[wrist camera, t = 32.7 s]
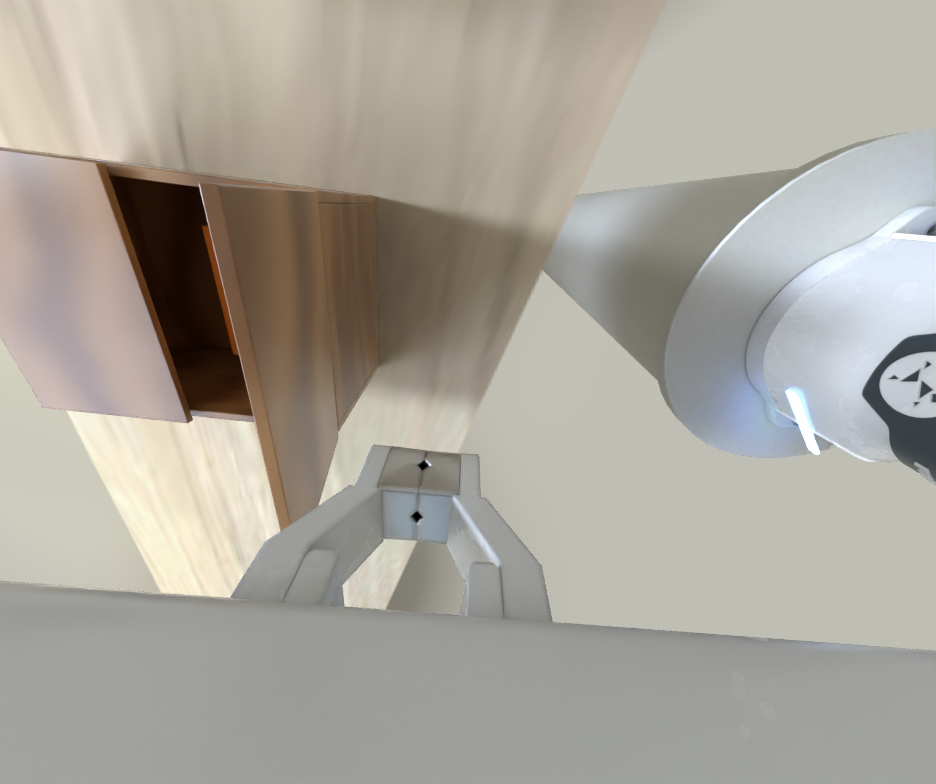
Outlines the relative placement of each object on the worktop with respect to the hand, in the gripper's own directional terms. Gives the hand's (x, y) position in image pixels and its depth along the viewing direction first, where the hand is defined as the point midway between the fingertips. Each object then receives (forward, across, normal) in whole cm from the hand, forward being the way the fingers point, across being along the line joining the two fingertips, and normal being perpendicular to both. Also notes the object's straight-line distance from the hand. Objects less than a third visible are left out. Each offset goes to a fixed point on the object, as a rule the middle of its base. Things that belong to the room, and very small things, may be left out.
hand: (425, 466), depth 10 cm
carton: (+19, +15, 0) cm, 24 cm away
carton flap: (+5, +6, 0) cm, 7 cm away
